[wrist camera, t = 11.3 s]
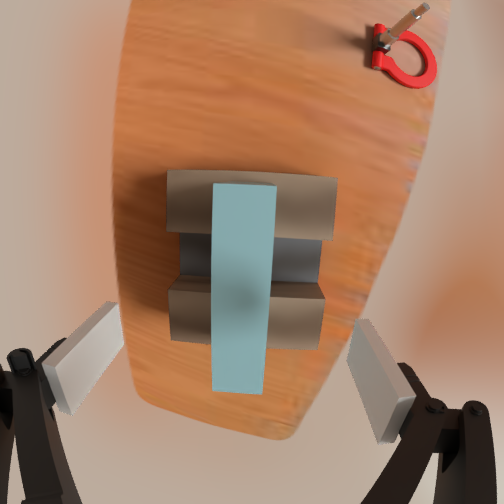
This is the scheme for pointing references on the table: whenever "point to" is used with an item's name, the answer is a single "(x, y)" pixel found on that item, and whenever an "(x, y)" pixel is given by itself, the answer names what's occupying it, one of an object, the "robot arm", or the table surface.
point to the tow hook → (399, 32)
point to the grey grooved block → (283, 263)
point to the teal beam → (241, 283)
